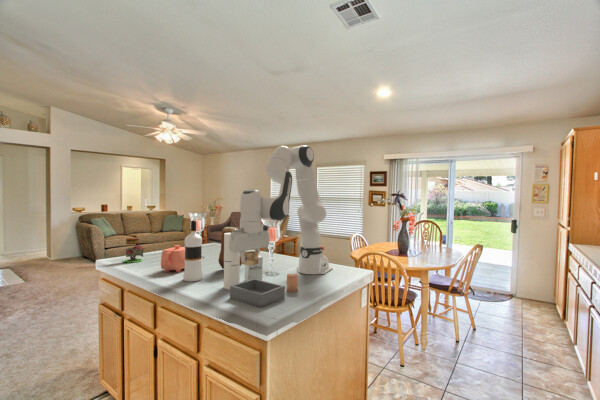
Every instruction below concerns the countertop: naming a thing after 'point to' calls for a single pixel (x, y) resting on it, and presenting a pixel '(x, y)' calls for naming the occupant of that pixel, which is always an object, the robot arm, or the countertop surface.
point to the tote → (257, 292)
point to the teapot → (173, 259)
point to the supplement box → (254, 270)
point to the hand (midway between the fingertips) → (249, 260)
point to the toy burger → (133, 250)
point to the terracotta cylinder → (292, 282)
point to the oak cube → (251, 258)
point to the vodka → (193, 256)
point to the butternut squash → (221, 256)
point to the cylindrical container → (230, 264)
